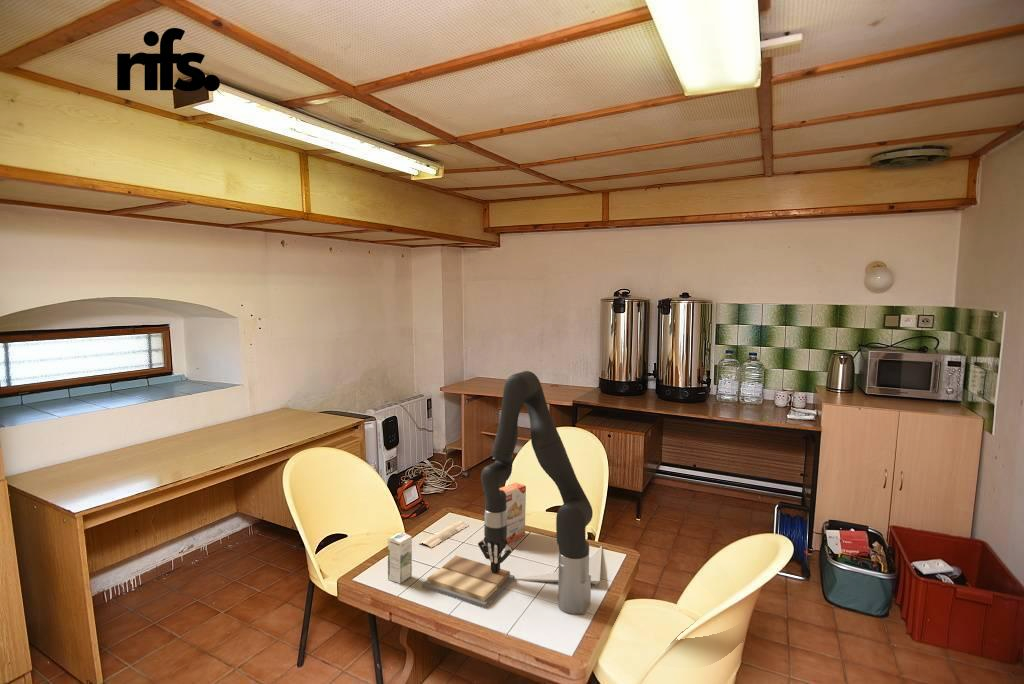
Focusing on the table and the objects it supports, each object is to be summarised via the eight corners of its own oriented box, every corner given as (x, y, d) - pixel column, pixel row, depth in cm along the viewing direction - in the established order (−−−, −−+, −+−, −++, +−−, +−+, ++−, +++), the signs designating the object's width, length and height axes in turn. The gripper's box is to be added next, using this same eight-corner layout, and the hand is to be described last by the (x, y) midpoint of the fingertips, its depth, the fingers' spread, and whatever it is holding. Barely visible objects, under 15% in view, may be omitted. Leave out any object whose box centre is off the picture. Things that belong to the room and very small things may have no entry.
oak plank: (497, 589, 165) (497, 584, 165) (484, 601, 158) (484, 596, 158) (441, 571, 176) (441, 567, 176) (427, 582, 169) (427, 577, 169)
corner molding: (510, 583, 173) (600, 586, 168) (509, 578, 173) (599, 581, 168) (525, 549, 203) (602, 550, 197) (525, 545, 203) (602, 546, 197)
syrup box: (399, 572, 178) (399, 531, 176) (412, 576, 174) (412, 535, 173) (387, 579, 173) (387, 538, 171) (400, 584, 170) (400, 542, 168)
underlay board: (514, 579, 173) (514, 575, 173) (484, 608, 157) (484, 604, 157) (456, 561, 185) (456, 558, 185) (422, 586, 168) (422, 583, 168)
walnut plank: (509, 575, 172) (509, 571, 172) (497, 588, 166) (497, 583, 165) (456, 559, 183) (455, 555, 183) (442, 570, 176) (442, 566, 176)
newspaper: (457, 524, 218) (457, 520, 218) (470, 528, 214) (470, 524, 214) (419, 546, 198) (419, 541, 198) (433, 551, 194) (433, 546, 194)
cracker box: (501, 548, 195) (501, 494, 194) (490, 542, 199) (490, 490, 198) (526, 536, 205) (526, 485, 204) (515, 531, 210) (515, 481, 208)
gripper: (518, 522, 171) (518, 572, 172) (484, 513, 177) (484, 562, 179) (507, 530, 164) (507, 582, 166) (472, 522, 171) (472, 572, 172)
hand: (495, 572), depth 172 cm, fingers closed
